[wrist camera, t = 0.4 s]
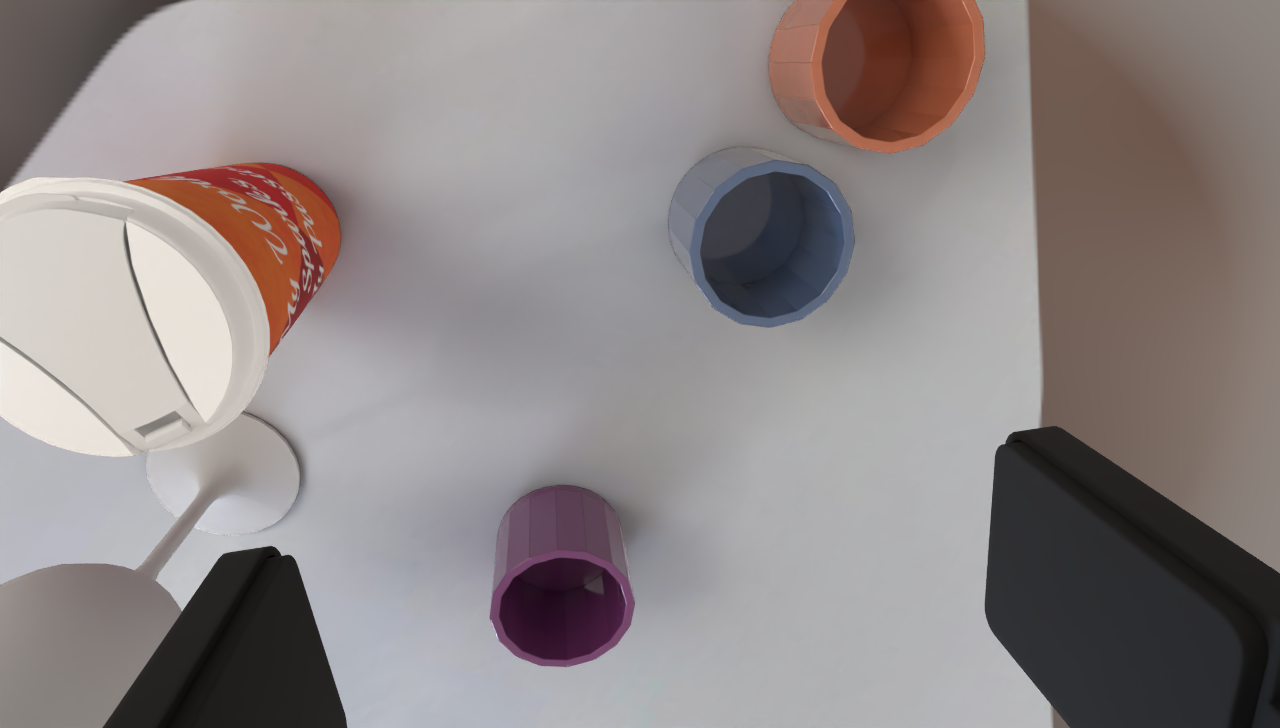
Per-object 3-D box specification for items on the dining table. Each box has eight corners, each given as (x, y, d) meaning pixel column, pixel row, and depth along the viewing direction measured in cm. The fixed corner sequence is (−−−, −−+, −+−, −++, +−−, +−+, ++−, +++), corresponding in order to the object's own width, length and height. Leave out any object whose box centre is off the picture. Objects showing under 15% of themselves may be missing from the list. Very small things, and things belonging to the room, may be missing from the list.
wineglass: (202, 374, 36) (-188, 726, 17) (335, 466, 39) (129, 864, 19) (112, 478, 38) (-345, 916, 18) (246, 561, 40) (-29, 1021, 21)
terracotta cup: (756, -3, 33) (799, -17, 28) (907, -41, 33) (980, -62, 28) (780, 154, 36) (824, 170, 30) (920, 119, 36) (989, 128, 30)
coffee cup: (401, 272, 36) (311, 403, 22) (245, 343, 36) (60, 517, 22) (301, 99, 32) (122, 124, 19) (131, 179, 33) (-169, 262, 19)
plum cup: (481, 503, 41) (471, 572, 35) (605, 470, 41) (615, 534, 35) (517, 603, 43) (514, 682, 38) (634, 571, 44) (647, 645, 38)
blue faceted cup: (654, 166, 35) (675, 185, 30) (796, 130, 36) (843, 142, 30) (684, 303, 38) (708, 344, 32) (816, 269, 38) (862, 304, 33)
